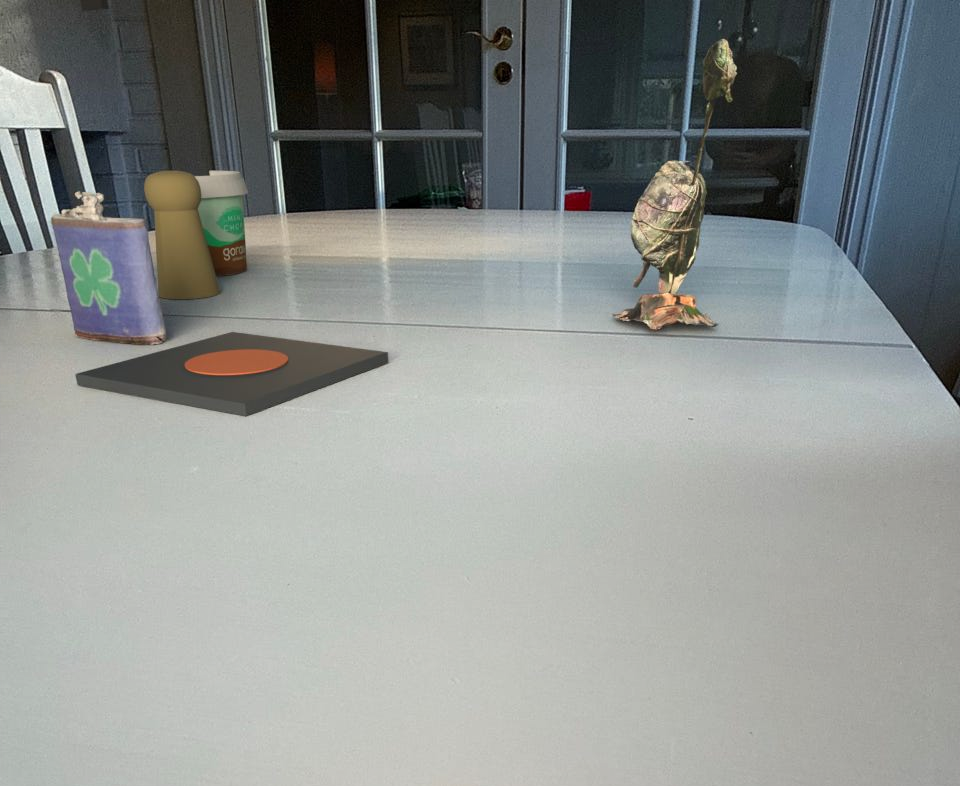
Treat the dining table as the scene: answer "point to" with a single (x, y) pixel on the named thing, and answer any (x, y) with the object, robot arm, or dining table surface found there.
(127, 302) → the flask
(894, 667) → the dining table surface
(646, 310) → the plant with pod
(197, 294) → the cork
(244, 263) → the food container
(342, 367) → the placemat
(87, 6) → the robot arm
